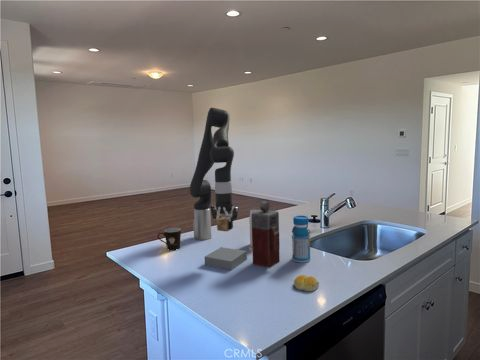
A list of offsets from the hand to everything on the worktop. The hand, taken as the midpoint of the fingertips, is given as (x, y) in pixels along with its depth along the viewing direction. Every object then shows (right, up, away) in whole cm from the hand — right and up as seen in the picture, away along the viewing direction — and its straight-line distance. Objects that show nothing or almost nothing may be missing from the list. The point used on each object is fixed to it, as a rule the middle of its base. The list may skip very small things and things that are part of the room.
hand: (225, 228), depth 148 cm
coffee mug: (-29, -14, +24) cm, 41 cm away
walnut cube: (0, -1, 0) cm, 0 cm away
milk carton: (+16, -13, +24) cm, 32 cm away
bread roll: (+32, -19, -25) cm, 44 cm away
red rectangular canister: (+20, -16, -1) cm, 25 cm away
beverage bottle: (+35, -15, +2) cm, 38 cm away
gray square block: (+1, -16, +2) cm, 16 cm away
